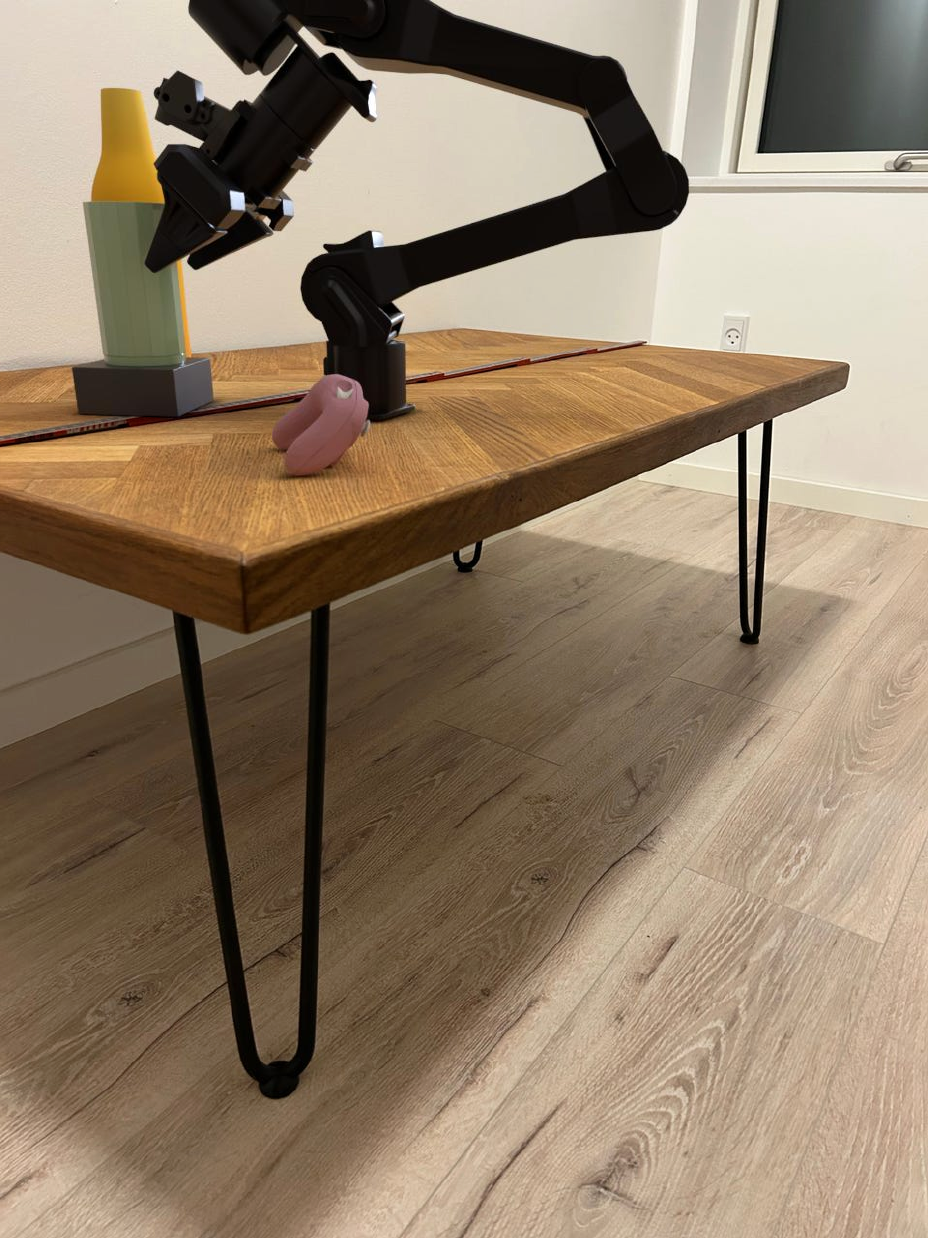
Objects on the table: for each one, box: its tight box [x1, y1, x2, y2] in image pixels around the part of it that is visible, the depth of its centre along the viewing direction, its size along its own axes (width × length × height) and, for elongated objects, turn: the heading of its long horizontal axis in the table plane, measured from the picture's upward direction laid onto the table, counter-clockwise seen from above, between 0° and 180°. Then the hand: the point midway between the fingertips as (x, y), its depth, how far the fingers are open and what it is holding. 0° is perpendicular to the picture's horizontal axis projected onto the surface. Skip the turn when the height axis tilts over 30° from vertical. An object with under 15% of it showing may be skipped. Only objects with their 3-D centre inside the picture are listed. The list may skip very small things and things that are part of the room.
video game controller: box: [271, 374, 371, 477], centre depth 63 cm, size 10×5×7 cm, turn 17°
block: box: [71, 356, 215, 418], centre depth 83 cm, size 9×9×4 cm
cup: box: [82, 200, 187, 367], centre depth 79 cm, size 7×7×13 cm
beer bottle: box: [90, 87, 192, 357], centre depth 104 cm, size 9×9×29 cm
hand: (171, 267), depth 78 cm, fingers open, 9 cm apart
